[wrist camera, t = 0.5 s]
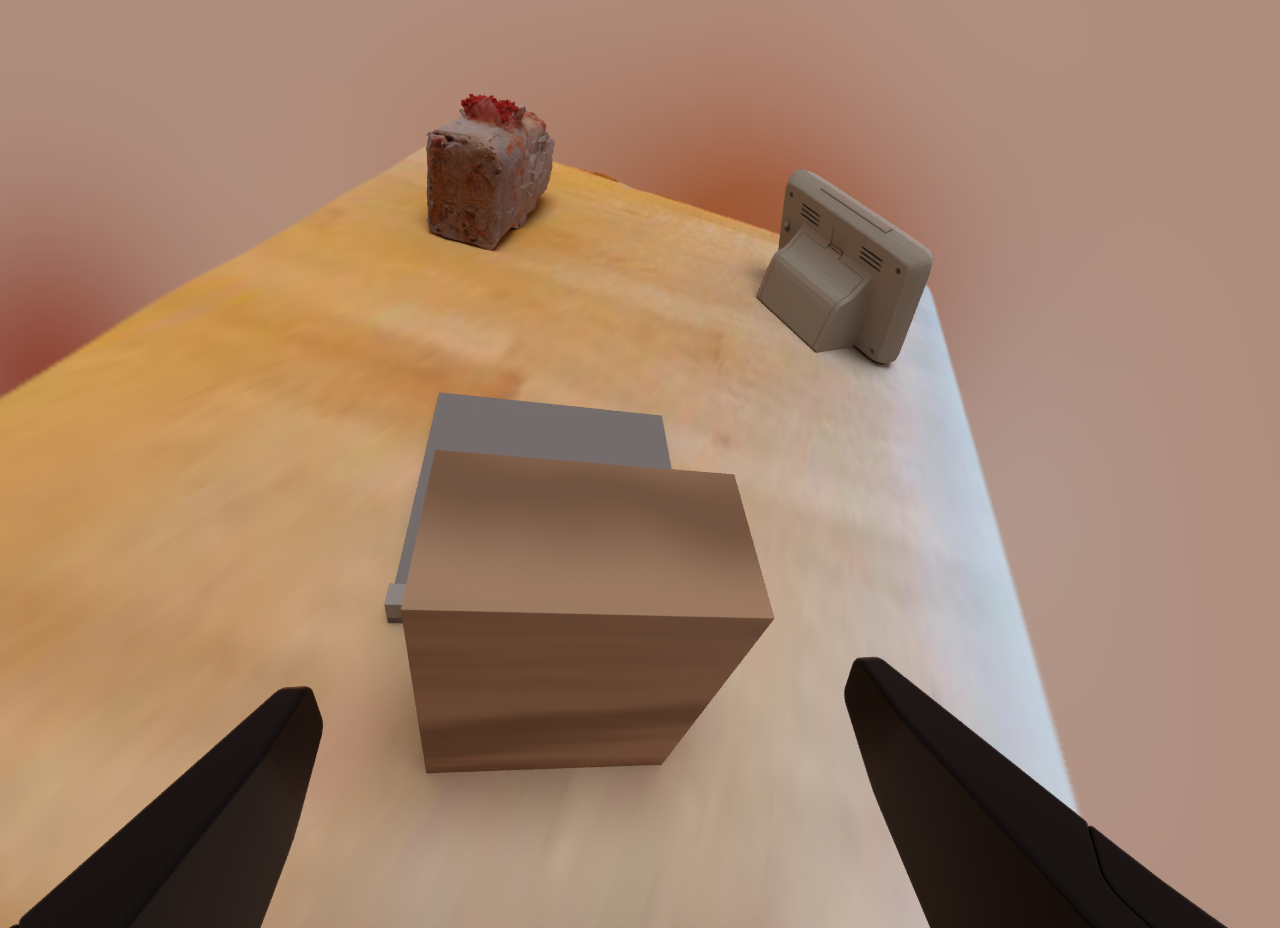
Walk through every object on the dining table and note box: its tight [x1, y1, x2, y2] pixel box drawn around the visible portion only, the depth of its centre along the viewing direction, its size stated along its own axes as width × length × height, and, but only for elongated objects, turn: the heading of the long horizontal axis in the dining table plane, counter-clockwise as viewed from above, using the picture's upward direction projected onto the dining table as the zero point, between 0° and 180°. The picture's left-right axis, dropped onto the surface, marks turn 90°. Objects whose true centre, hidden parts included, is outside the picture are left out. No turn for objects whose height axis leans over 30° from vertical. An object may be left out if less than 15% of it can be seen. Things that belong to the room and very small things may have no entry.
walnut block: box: [401, 450, 774, 773], centre depth 19 cm, size 5×9×12 cm, turn 96°
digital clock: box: [757, 169, 933, 363], centre depth 49 cm, size 16×9×11 cm, turn 17°
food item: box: [426, 94, 555, 250], centre depth 50 cm, size 14×8×10 cm, turn 171°
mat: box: [385, 393, 671, 623], centre depth 31 cm, size 15×14×2 cm
